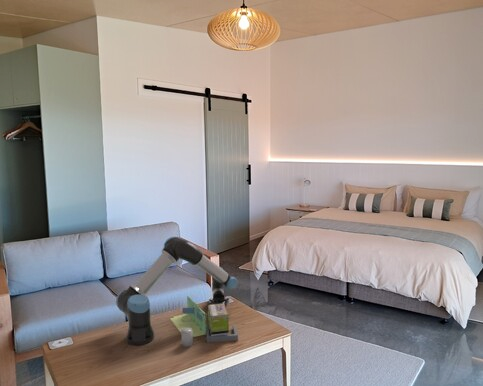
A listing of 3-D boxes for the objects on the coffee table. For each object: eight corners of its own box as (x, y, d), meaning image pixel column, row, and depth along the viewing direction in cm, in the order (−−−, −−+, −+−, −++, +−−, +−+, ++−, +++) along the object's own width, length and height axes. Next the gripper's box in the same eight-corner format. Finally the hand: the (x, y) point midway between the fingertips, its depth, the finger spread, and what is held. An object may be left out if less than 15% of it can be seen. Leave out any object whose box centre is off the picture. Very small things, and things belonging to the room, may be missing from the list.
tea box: (208, 328, 231) (207, 304, 229) (225, 326, 233) (224, 302, 231) (211, 341, 216) (210, 315, 214) (229, 339, 218) (228, 313, 216)
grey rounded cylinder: (181, 347, 210) (181, 333, 209) (181, 341, 216) (181, 328, 215) (192, 346, 211) (192, 332, 210) (192, 340, 217) (192, 327, 216)
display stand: (206, 334, 224) (205, 313, 223) (185, 339, 219) (184, 318, 217) (188, 313, 251) (187, 295, 249) (169, 318, 245) (168, 299, 244)
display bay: (206, 342, 215) (206, 337, 214) (206, 330, 228) (205, 325, 227) (238, 340, 216) (237, 335, 216) (235, 328, 230) (235, 323, 229)
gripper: (228, 300, 260) (231, 317, 237) (208, 302, 259) (209, 318, 235) (228, 290, 259) (231, 305, 236) (208, 291, 257) (209, 306, 234)
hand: (220, 311), depth 235 cm, fingers closed
